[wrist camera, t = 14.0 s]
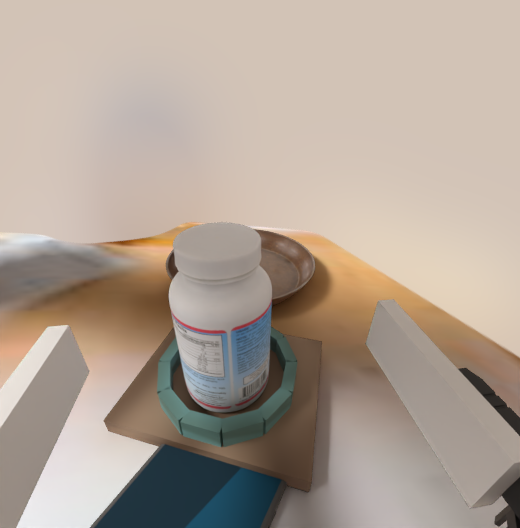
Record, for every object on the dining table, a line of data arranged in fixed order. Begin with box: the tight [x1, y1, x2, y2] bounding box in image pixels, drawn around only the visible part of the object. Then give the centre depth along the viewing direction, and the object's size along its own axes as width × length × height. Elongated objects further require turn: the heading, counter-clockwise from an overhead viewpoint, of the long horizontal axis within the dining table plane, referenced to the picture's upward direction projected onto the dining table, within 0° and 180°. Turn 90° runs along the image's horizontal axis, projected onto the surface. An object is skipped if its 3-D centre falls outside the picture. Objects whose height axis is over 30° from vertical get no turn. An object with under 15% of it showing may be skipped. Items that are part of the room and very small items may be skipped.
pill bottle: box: [169, 222, 272, 413], centre depth 17 cm, size 6×6×11 cm
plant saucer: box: [166, 229, 315, 306], centre depth 34 cm, size 18×18×3 cm
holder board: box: [104, 327, 322, 492], centre depth 20 cm, size 13×10×3 cm
